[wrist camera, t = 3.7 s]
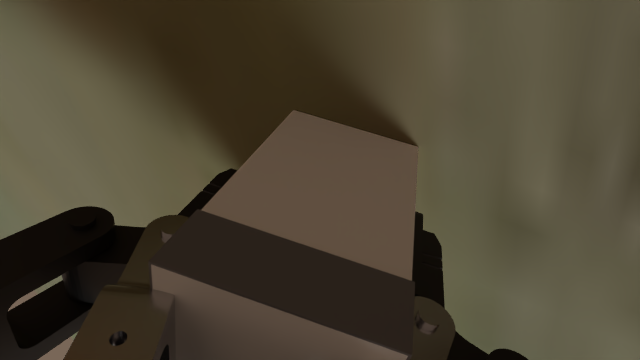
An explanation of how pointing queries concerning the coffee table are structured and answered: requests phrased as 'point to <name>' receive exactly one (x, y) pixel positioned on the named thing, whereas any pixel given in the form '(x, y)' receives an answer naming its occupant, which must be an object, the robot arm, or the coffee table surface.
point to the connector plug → (300, 252)
